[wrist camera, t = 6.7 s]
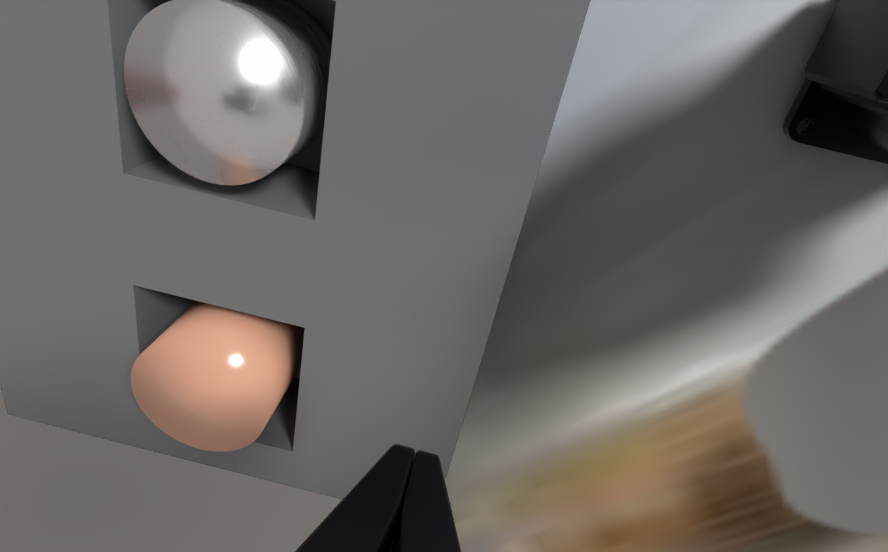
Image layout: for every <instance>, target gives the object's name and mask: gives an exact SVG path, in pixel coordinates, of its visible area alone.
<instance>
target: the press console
mask: <svg viewBox="0 0 888 552" xmlns="http://www.w3.org/2000/svg"><path fill="white" fill-rule="evenodd" d="M169 1H172V0H0V386H1V390H2V394H3V398H4V402H5V405H6V409H7V413H8V414H9V415H13V416H17V417H21V418H25V419H29V420H33V421H37V422H40V423H44V424H48V425H52V426H56V427H61V428H64V429H68V430H72V431H76V432H80V433H84V434H88V435H92V436H95V437H99V438H103V439H108V440H111V441H115V442H119V443H123V444H127V445H131V446H135V447H139V448H143V449H147V450H151V451H154V452H158V453H162V454H166V455H170V456H174V457H178V458H182V459H186V460H190V461H194V462H198V463H202V464H206V465H209V466H213V467H217V468H221V469H225V470H230V471H233V472H237V473H241V474H245V475H249V476H253V477H257V478H260V479H264V480H268V481H272V482H276V483H280V484H284V485H288V486H292V487H296V488H300V489H304V490H308V491H312V492H316V493H319V494H324V495H327V496H332V497H335V498H339V499H344V497H345V496H346V495H347V494H348V493H349V492H350V491H351V490H352V489H353V488H354V486H355V485H356V484H357V483H358V482H359V481H360V480H361V479H362V478H363V477H364V476H365V474H366V473H367V472H368V471H369V470H370V469H371V468H372V467H373V466H374V465H375V463H376V462H377V461H378V460H379V459H380V458H381V457H382V456H383V455H384V454H385V453H386V451H387V450H388V449H389V448H390V447H391V446H392V445H394V444H400V445H403V446H407V447H411V448H413V449H414V450H415V454H416V452H417V451H418V450H422V451H426V452H430V453H433V454H436V455H438V456H439V458H440V462H441V466H442V471H443V475H444V479H446V475H447V472H448V469H449V465H450V462H451V459H452V456H453V452H454V449H455V446H456V442H457V439H458V436H459V432H460V429H461V426H462V423H463V419H464V416H465V413H466V409H467V406H468V403H469V399H470V396H471V393H472V390H473V386H474V383H475V380H476V376H477V373H478V370H479V366H480V363H481V360H482V357H483V353H484V350H485V347H486V343H487V340H488V337H489V333H490V330H491V327H492V323H493V320H494V317H495V314H496V310H497V307H498V304H499V300H500V297H501V294H502V290H503V287H504V284H505V281H506V277H507V274H508V271H509V267H510V264H511V261H512V257H513V254H514V251H515V248H516V244H517V241H518V238H519V234H520V231H521V228H522V224H523V221H524V218H525V215H526V211H527V208H528V205H529V201H530V198H531V195H532V191H533V188H534V185H535V182H536V178H537V175H538V172H539V168H540V165H541V162H542V158H543V155H544V152H545V149H546V145H547V142H548V139H549V135H550V132H551V129H552V125H553V122H554V119H555V116H556V112H557V109H558V106H559V102H560V99H561V96H562V92H563V89H564V86H565V82H566V79H567V76H568V73H569V69H570V66H571V63H572V59H573V56H574V53H575V49H576V46H577V43H578V40H579V36H580V33H581V30H582V26H583V23H584V20H585V16H586V13H587V10H588V7H589V3H590V0H283V1H286V2H288V3H290V4H292V5H295V6H296V7H298V8H299V9H301V10H302V11H304V12H305V13H306V14H307V15H309V16H310V17H311V18H312V19H313V20H314V21H315V22H316V23H317V24H318V25H319V26H320V28H321V29H322V30H323V31H324V33H325V34H326V36H327V37H328V39H329V41H330V42H331V44H332V49H331V59H330V69H329V80H328V90H327V101H326V111H325V121H324V132H323V134H322V135H321V136H320V137H319V138H318V139H316V140H315V141H314V142H312V143H311V144H309V145H308V146H307V147H305V148H304V149H303V150H301V151H300V152H298V153H297V154H296V155H294V156H293V157H291V158H290V159H289V160H287V161H286V162H285V163H283V164H282V165H280V166H279V167H278V168H276V169H275V170H274V171H272V172H271V173H269V174H268V175H266V176H264V177H263V178H261V179H259V180H256V181H254V182H251V183H247V184H242V185H219V184H214V183H209V182H206V181H203V180H200V179H198V178H195V177H193V176H191V175H189V174H187V173H185V172H184V171H182V170H180V169H179V168H177V167H176V166H175V165H173V164H172V163H170V162H169V161H168V160H167V159H166V158H165V157H164V156H163V155H161V154H160V152H159V151H158V150H157V149H156V148H155V147H154V146H153V145H152V144H151V142H150V141H149V140H148V138H147V137H146V136H145V134H144V133H143V131H142V129H141V128H140V126H139V124H138V122H137V120H136V118H135V116H134V114H133V112H132V109H131V106H130V104H129V101H128V97H127V93H126V88H125V81H124V60H125V53H126V49H127V45H128V42H129V39H130V37H131V35H132V32H133V31H134V29H135V28H136V26H137V24H138V23H139V22H140V21H141V20H142V18H143V17H144V16H145V15H146V14H148V13H149V12H150V11H151V10H153V9H154V8H156V7H158V6H159V5H161V4H163V3H166V2H169ZM196 301H199V302H203V303H207V304H211V305H215V306H219V307H223V308H227V309H231V310H235V311H239V312H243V313H247V314H251V315H255V316H259V317H263V318H267V319H271V320H275V321H279V322H283V323H287V324H291V325H295V326H299V327H303V328H305V330H304V340H303V351H302V361H301V367H300V368H299V370H298V372H297V373H296V375H295V377H294V378H293V380H292V382H291V384H290V385H289V387H288V389H287V390H286V392H285V394H284V395H283V397H282V399H281V400H280V402H279V404H278V405H277V407H276V409H275V411H274V412H273V414H272V416H271V417H270V419H269V421H268V422H267V424H266V426H265V427H264V429H263V431H262V433H261V434H260V436H259V437H258V438H257V439H256V440H255V441H254V442H252V443H251V444H249V445H248V446H246V447H243V448H241V449H238V450H233V451H226V452H215V451H207V450H202V449H198V448H195V447H191V446H189V445H186V444H184V443H182V442H180V441H178V440H176V439H174V438H172V437H170V436H169V435H167V434H166V433H164V432H163V431H162V430H160V429H159V428H158V427H157V426H156V425H154V424H153V423H152V422H151V421H150V420H149V418H148V417H147V416H146V415H145V414H144V412H143V411H142V410H141V408H140V407H139V405H138V403H137V401H136V399H135V397H134V394H133V391H132V387H131V371H132V367H133V365H134V362H135V361H136V359H137V358H138V357H139V355H140V354H141V353H142V352H143V351H144V350H145V349H146V348H148V347H149V346H150V345H151V344H152V343H153V342H154V341H155V340H156V339H157V338H158V337H159V336H160V335H161V334H162V333H163V332H164V331H165V330H166V329H167V328H169V327H170V326H171V325H172V324H173V323H174V322H175V321H176V320H177V319H178V318H179V317H180V316H181V315H182V314H183V313H184V312H185V311H186V310H187V309H188V308H190V307H191V306H192V305H193V304H194V303H195V302H196ZM414 457H415V456H414Z"/></svg>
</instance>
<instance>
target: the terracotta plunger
mask: <svg viewBox="0 0 888 552" xmlns="http://www.w3.org/2000/svg"><path fill="white" fill-rule="evenodd" d="M304 330H305V328H303V327H299V326H295V325H291V324H287V323H283V322H279V321H275V320H271V319H267V318H263V317H259V316H255V315H251V314H247V313H243V312H239V311H235V310H231V309H227V308H223V307H219V306H215V305H211V304H207V303H203V302H199V301H196V302H195V303H194V304H193V305H192V306H191V307H190V308H188V309H187V310H186V311H185V312H184V313H183V314H182V315H181V316H180V317H179V318H178V319H177V320H176V321H175V322H174V323H173V324H172V325H171V326H170V327H169V328H167V329H166V330H165V331H164V332H163V333H162V334H161V335H160V336H159V337H158V338H157V339H156V340H155V341H154V342H153V343H152V344H151V345H150V346H149V347H148V348H146V349H145V350H144V351H143V352H142V353H141V354H140V355H139V357H138V358H137V359H136V361H135V362H134V365H133V367H132V371H131V387H132V391H133V394H134V397H135V399H136V401H137V403H138V405H139V407H140V408H141V410H142V411H143V412H144V414H145V415H146V416H147V417H148V418H149V420H150V421H151V422H152V423H153V424H154V425H156V426H157V427H158V428H159V429H160V430H162V431H163V432H164V433H166V434H167V435H169V436H170V437H172V438H174V439H176V440H178V441H180V442H182V443H184V444H186V445H189V446H191V447H195V448H198V449H202V450H207V451H215V452H226V451H233V450H238V449H241V448H243V447H246V446H248V445H249V444H251V443H252V442H254V441H255V440H256V439H257V438H258V437H259V436H260V434H261V433H262V431H263V429H264V427H265V426H266V424H267V422H268V421H269V419H270V417H271V416H272V414H273V412H274V411H275V409H276V407H277V405H278V404H279V402H280V400H281V399H282V397H283V395H284V394H285V392H286V390H287V389H288V387H289V385H290V384H291V382H292V380H293V378H294V377H295V375H296V373H297V372H298V370H299V368H300V367H301V361H302V351H303V340H304Z"/></svg>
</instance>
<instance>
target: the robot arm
mask: <svg viewBox="0 0 888 552" xmlns="http://www.w3.org/2000/svg"><path fill="white" fill-rule="evenodd" d="M805 73H806V76H807V78H806V80H805V82H804V84H803V86H802V88H801V90H800V92H799V94H798V96H797V98H796V100H795V102H794V104H793V106H792V108H791V110H790V112H789V114H788V116H787V118H786V119H785V122H784V125H783V130H784V133H785V135H786V136H787V137H788V138H790V139H792V140H794V141H796V142H799V143H803V144H807V145H811V146H816V147H820V148H824V149H828V150H832V151H837V152H841V153H845V154H849V155H853V156H857V157H862V158H866V159H870V160H874V161H878V162H882V163H887V164H888V0H839V2H838V4H837V6H836V8H835V10H834V12H833V14H832V16H831V18H830V20H829V22H828V24H827V26H826V28H825V30H824V32H823V34H822V36H821V38H820V40H819V42H818V44H817V46H816V48H815V50H814V52H813V54H812V56H811V58H810V60H809V62H808V63H807V65H806V68H805ZM804 119H808V121H809V123H808V126H807V128H806V129H805V130H803V131H801V132H797V125H798V124H799V123H800V122H801V121H802V120H804ZM414 456H415V457H414ZM391 547H392V548H391ZM390 551H391V552H461V549H460V545H459V540H458V536H457V532H456V527H455V523H454V519H453V514H452V510H451V505H450V501H449V497H448V492H447V488H446V484H445V479H444V475H443V471H442V466H441V462H440V458H439V456H438V455H436V454H433V453H430V452H426V451H422V450H418V451H417V452H416V454H415V450H414V449H413V448H411V447H407V446H403V445H400V444H394V445H392V446H391V447H390V448H389V449H388V450H387V451H386V453H385V454H384V455H383V456H382V457H381V458H380V459H379V460H378V461H377V462H376V463H375V465H374V466H373V467H372V468H371V469H370V470H369V471H368V472H367V473H366V474H365V476H364V477H363V478H362V479H361V480H360V481H359V482H358V483H357V484H356V485H355V486H354V488H353V489H352V490H351V491H350V492H349V493H348V494H347V495H346V496H345V497H344V499H343V500H342V501H341V502H340V503H339V504H338V505H337V506H336V507H335V508H334V509H333V511H332V512H331V513H330V514H329V515H328V516H327V517H326V518H325V519H324V520H323V522H322V523H321V524H320V525H319V526H318V527H317V528H316V529H315V530H314V531H313V533H312V534H311V535H310V536H309V537H308V538H307V539H306V540H305V541H304V542H303V543H302V545H301V546H300V547H299V548H298V549H297V550H296V551H295V552H390Z"/></svg>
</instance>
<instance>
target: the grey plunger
mask: <svg viewBox="0 0 888 552" xmlns="http://www.w3.org/2000/svg"><path fill="white" fill-rule="evenodd" d="M331 49H332V44H331V42H330V41H329V39H328V37H327V36H326V34H325V33H324V31H323V30H322V29H321V28H320V26H319V25H318V24H317V23H316V22H315V21H314V20H313V19H312V18H311V17H310V16H309V15H307V14H306V13H305V12H304V11H302V10H301V9H299V8H298V7H296V6H295V5H292V4H290V3H288V2H286V1H283V0H172V1H169V2H166V3H163V4H161V5H159V6H158V7H156V8H154V9H153V10H151V11H150V12H149V13H148V14H146V15H145V16H144V17H143V18H142V20H141V21H140V22H139V23H138V24H137V26H136V28H135V29H134V31H133V32H132V35H131V37H130V39H129V42H128V45H127V49H126V53H125V60H124V81H125V88H126V93H127V97H128V101H129V104H130V106H131V109H132V112H133V114H134V116H135V118H136V120H137V122H138V124H139V126H140V128H141V129H142V131H143V133H144V134H145V136H146V137H147V138H148V140H149V141H150V142H151V144H152V145H153V146H154V147H155V148H156V149H157V150H158V151H159V152H160V154H161V155H163V156H164V157H165V158H166V159H167V160H168V161H169V162H170V163H172V164H173V165H175V166H176V167H177V168H179V169H180V170H182V171H184V172H185V173H187V174H189V175H191V176H193V177H195V178H198V179H200V180H203V181H206V182H209V183H214V184H219V185H242V184H247V183H251V182H254V181H256V180H259V179H261V178H263V177H264V176H266V175H268V174H269V173H271V172H272V171H274V170H275V169H276V168H278V167H279V166H280V165H282V164H283V163H285V162H286V161H287V160H289V159H290V158H291V157H293V156H294V155H296V154H297V153H298V152H300V151H301V150H303V149H304V148H305V147H307V146H308V145H309V144H311V143H312V142H314V141H315V140H316V139H318V138H319V137H320V136H321V135H322V134H323V132H324V121H325V111H326V101H327V90H328V80H329V69H330V59H331Z"/></svg>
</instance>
